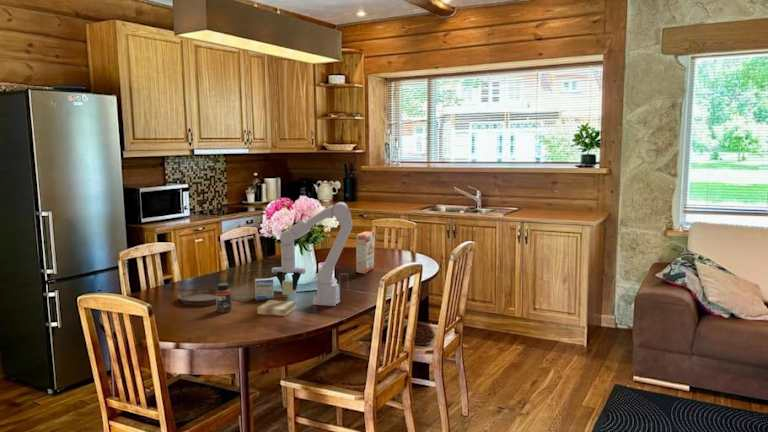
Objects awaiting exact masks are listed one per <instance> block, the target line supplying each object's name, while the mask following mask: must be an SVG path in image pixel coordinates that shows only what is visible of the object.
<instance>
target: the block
mask: <svg viewBox="0 0 768 432" xmlns="http://www.w3.org/2000/svg"><path fill="white" fill-rule="evenodd" d="M296 293H297V289H296V290H293V280H292V279H288V278H287V279H286V278H285V280H284V281H283V282H282V288H281V294H282V295H283V296H293V295H295V294H296Z"/></svg>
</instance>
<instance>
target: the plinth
mask: <svg viewBox="0 0 768 432" xmlns="http://www.w3.org/2000/svg"><path fill="white" fill-rule="evenodd" d="M295 309H297V301H287V300H277V299H267V301H266V302H264V303H262V304H261V305H259V306H257V308H256V314H257V315H267V316H279V317H280V316H281V317H286V316H287V315H288V314H290V313H291V312H292V311H293V310H295Z"/></svg>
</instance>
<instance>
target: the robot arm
mask: <svg viewBox="0 0 768 432" xmlns="http://www.w3.org/2000/svg"><path fill="white" fill-rule="evenodd" d="M333 218H335V219H336V220H337V221H338V223H339V226H340V229H339V231H338V233H337V235H336V237H335V239H334V241H333V244H332V246H331V248H330V250H329V253H328V255H327V257H326V259H325V260H324V263H323V265H322V266H320V268H319V269H318V270H317V271H318V273H317V275H316V279H317V281H316V301H315V302H314V303H313V305H315V306H328V307H330V306H331V307H335V306H337V305H338V304H339V303H340V302H341V297H340V296H341V295H340V294H341V293H340V284H339V283H336V282H334V280H333V274H334V270H335V267H336V265H337V262H338V259H339V258H340V256H341V253H342V252H343V250H344V247H345V245H346V243H347V240H348V238H349V236H350V234H351V231H352V229H353V219H352V215H351V210H350V208H349V205H348V204H347V203H346V202H344V201H338V202H336V203H335V204H332V205H330V206H327V207H326V208H324V209H323V210H321V211H320V212H318V213H316V214H315V215H313V216H312V217H310V218H309V219H307V220H305V219H302V220H300V219H299V220H297V221H296V223H295V224H293V225H292V226H288V227H287V229H285V230H284V231H283V232H282V233H281V234H280V236H279V241H280V245H281V248H280V254H281V255H280V256H281V257H280V258H281V261H280V262H281V266H279V267H271V273H272V274H274V273H276V274H275V276H276V278H277V280H278V282H279V284H280V288H281V289H282V282H283V281H284V280H286V274H292V275H291V280H293V290H296V291H297V287H298V283H299V279H300V277H301V275H305V274H306V268H302V267H296V254H295V252H296V249H295V248H296V247H295V240H298V239H300V238H301V237H303V236H305V235H306V234H308V233H309V232H310V231H311V229H312V227H313V226H316V225H317V224H319V223H320V222H322V221H324V220H326V219H333ZM336 304H337V305H336Z"/></svg>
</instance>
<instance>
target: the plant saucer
mask: <svg viewBox="0 0 768 432" xmlns="http://www.w3.org/2000/svg"><path fill="white" fill-rule="evenodd" d="M217 289H218V288H215V287H202V288H201V287H200V288H193V289H187V290H184V291H180V292H179V293H178V294H177V298H178V299H179V301H180V302H182V304H185V305H188V306H209V305H210V306H211V305H214V304H216V290H217Z"/></svg>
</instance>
